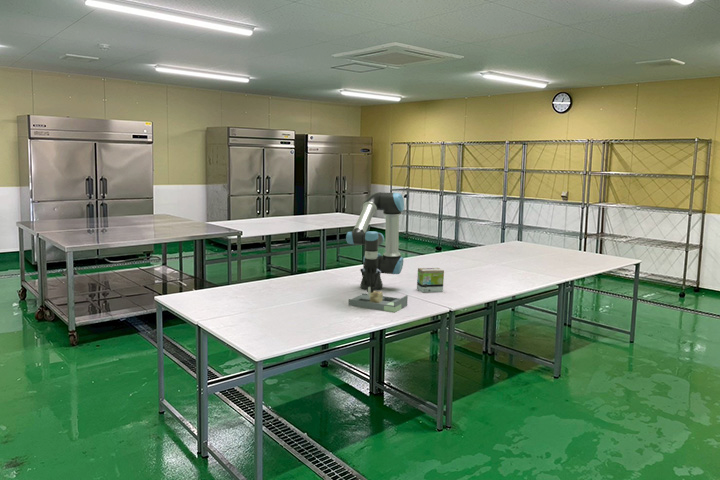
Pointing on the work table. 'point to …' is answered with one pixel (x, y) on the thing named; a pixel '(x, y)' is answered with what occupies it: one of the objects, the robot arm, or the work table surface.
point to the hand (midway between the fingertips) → (370, 297)
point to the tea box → (430, 279)
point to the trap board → (385, 305)
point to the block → (376, 296)
